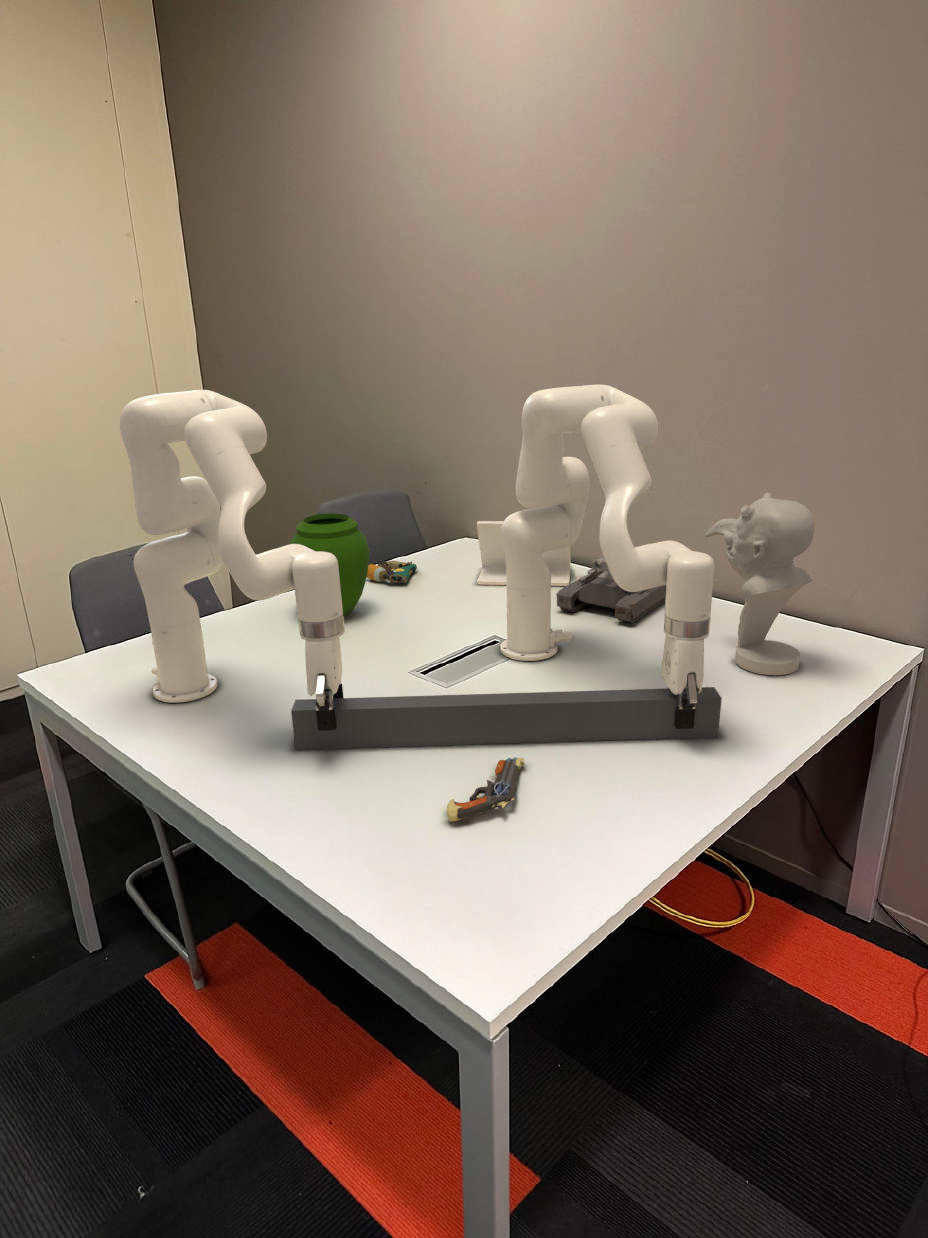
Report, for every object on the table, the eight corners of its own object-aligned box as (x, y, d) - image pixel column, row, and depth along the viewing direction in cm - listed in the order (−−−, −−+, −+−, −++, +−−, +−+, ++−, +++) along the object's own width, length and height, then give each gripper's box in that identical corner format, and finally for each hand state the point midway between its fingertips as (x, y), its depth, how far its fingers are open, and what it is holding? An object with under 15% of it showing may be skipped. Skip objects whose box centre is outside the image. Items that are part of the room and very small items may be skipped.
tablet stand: (569, 585, 229) (570, 524, 223) (476, 584, 232) (475, 523, 226) (570, 566, 246) (571, 508, 240) (484, 564, 249) (483, 507, 243)
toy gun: (442, 810, 126) (509, 808, 124) (466, 754, 144) (524, 752, 142) (445, 827, 127) (511, 825, 125) (468, 769, 145) (526, 767, 142)
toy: (603, 584, 229) (605, 530, 224) (673, 597, 218) (677, 540, 213) (555, 612, 210) (556, 553, 205) (630, 627, 199) (633, 566, 194)
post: (711, 725, 154) (714, 686, 151) (718, 737, 150) (721, 697, 147) (299, 737, 154) (295, 699, 151) (295, 750, 150) (290, 710, 147)
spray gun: (385, 567, 251) (431, 574, 246) (355, 581, 237) (403, 588, 231) (385, 553, 250) (431, 560, 244) (355, 566, 236) (403, 573, 230)
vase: (389, 608, 216) (383, 514, 208) (339, 633, 201) (330, 533, 192) (330, 596, 226) (322, 506, 218) (278, 619, 211) (267, 523, 202)
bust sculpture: (735, 630, 196) (748, 478, 183) (821, 666, 176) (842, 499, 163) (681, 644, 189) (691, 488, 176) (764, 683, 169) (782, 510, 157)
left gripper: (307, 609, 152) (317, 696, 158) (290, 645, 136) (301, 741, 142) (349, 607, 152) (358, 694, 158) (337, 643, 136) (346, 739, 142)
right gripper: (653, 608, 152) (648, 700, 159) (676, 644, 137) (670, 745, 143) (695, 607, 152) (689, 699, 159) (723, 643, 137) (715, 743, 143)
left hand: (331, 716), depth 150 cm, fingers open, 9 cm apart
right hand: (680, 720), depth 151 cm, fingers closed on post, 4 cm apart
